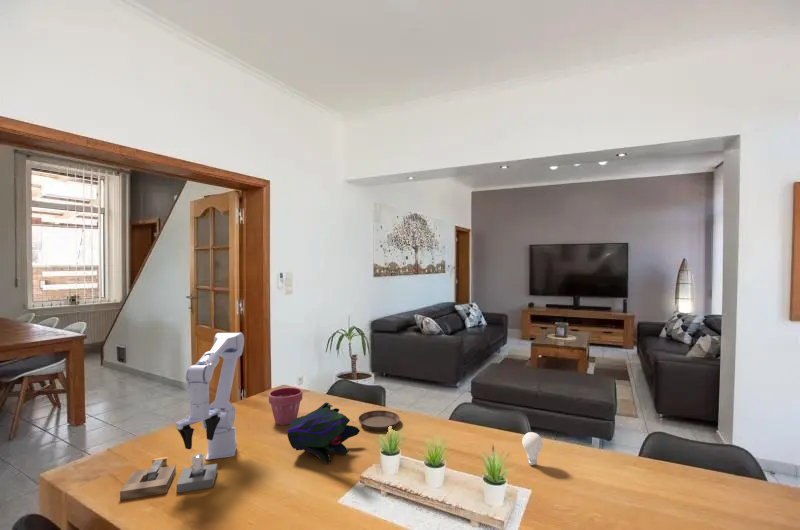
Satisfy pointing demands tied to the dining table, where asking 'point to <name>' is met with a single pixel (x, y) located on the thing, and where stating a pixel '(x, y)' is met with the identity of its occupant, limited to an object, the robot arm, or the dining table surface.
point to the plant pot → (285, 404)
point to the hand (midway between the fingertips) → (199, 443)
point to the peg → (197, 465)
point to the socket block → (147, 483)
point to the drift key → (156, 467)
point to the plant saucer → (378, 420)
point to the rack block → (197, 479)
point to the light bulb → (532, 446)
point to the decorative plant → (321, 432)
